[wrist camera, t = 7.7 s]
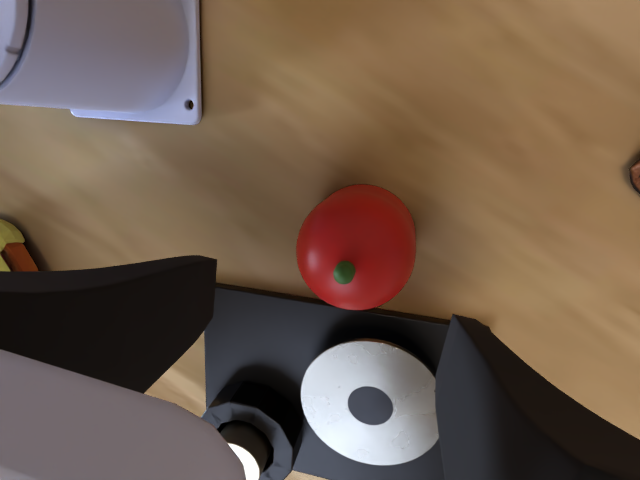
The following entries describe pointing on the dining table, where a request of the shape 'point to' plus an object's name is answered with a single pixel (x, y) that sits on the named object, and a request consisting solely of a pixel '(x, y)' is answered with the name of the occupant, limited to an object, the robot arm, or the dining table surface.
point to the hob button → (248, 446)
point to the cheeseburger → (13, 250)
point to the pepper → (357, 247)
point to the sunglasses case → (635, 175)
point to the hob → (301, 374)
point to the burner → (371, 401)
